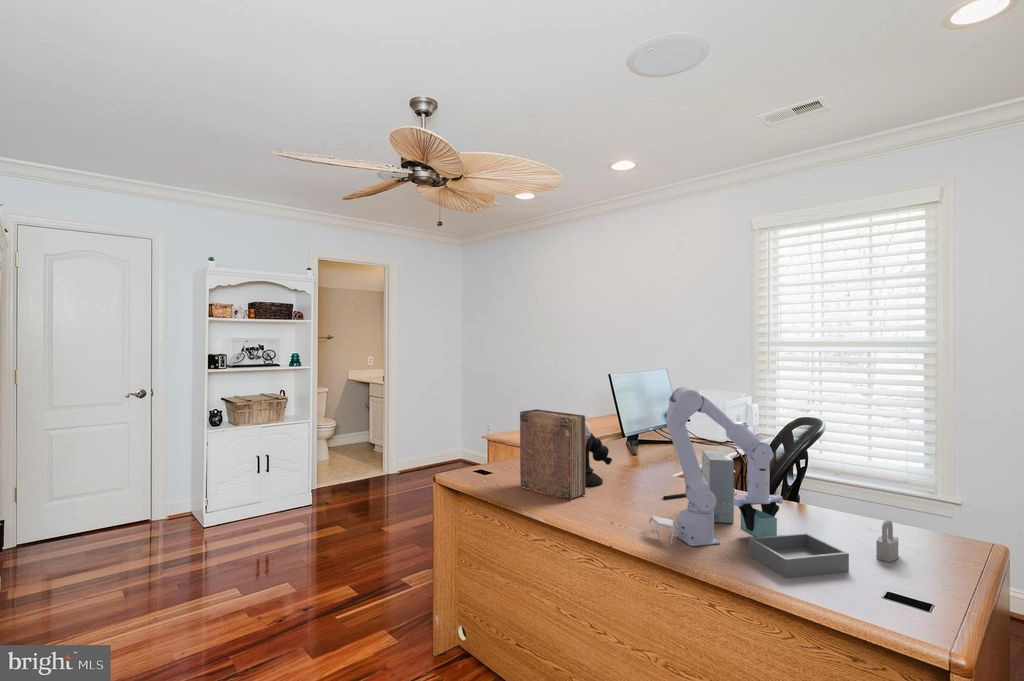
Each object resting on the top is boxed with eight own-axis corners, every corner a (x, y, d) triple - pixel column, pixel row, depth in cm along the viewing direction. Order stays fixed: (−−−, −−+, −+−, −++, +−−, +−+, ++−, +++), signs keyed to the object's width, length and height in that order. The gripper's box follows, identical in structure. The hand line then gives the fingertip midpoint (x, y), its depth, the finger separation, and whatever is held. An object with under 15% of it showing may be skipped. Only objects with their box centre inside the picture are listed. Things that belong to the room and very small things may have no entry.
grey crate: (785, 578, 126) (785, 559, 126) (748, 554, 140) (748, 538, 140) (848, 571, 130) (848, 553, 130) (806, 549, 143) (806, 532, 143)
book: (586, 496, 192) (585, 415, 192) (570, 501, 186) (570, 418, 186) (536, 482, 211) (535, 409, 211) (520, 487, 204) (519, 411, 204)
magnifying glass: (653, 496, 195) (653, 490, 195) (718, 487, 205) (718, 482, 205) (676, 506, 182) (676, 500, 182) (744, 497, 193) (744, 491, 193)
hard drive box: (734, 524, 163) (734, 461, 163) (708, 522, 164) (708, 460, 164) (724, 508, 178) (724, 450, 178) (701, 507, 179) (700, 449, 179)
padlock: (883, 551, 142) (883, 515, 142) (901, 556, 138) (901, 519, 138) (873, 558, 137) (873, 520, 137) (891, 563, 134) (891, 525, 134)
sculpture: (557, 481, 212) (557, 420, 212) (595, 472, 227) (595, 415, 227) (585, 489, 201) (584, 425, 201) (623, 479, 216) (623, 419, 216)
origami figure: (688, 539, 151) (688, 522, 151) (671, 546, 146) (671, 528, 146) (655, 527, 161) (655, 511, 161) (637, 533, 156) (637, 517, 156)
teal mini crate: (761, 540, 144) (761, 519, 144) (740, 529, 153) (740, 509, 153) (776, 539, 145) (776, 518, 145) (755, 528, 154) (755, 507, 154)
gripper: (744, 487, 144) (744, 536, 144) (790, 484, 147) (790, 532, 147) (729, 480, 151) (729, 527, 151) (773, 478, 154) (773, 523, 154)
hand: (758, 529), depth 149 cm, fingers closed on teal mini crate, 5 cm apart
